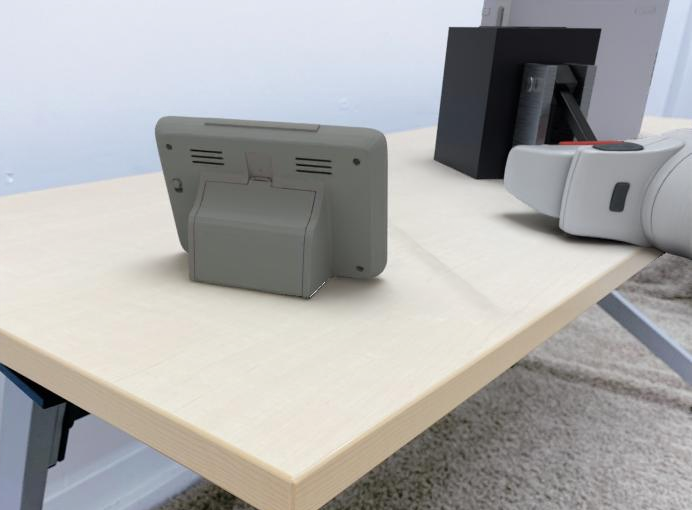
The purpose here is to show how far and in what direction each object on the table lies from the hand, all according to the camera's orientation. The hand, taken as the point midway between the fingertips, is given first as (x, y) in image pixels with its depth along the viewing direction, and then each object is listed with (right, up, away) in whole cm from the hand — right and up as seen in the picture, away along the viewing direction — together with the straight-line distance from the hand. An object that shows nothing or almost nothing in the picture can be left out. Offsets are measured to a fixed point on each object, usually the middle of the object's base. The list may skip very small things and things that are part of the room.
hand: (582, 153), depth 65 cm
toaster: (-2, +1, +16) cm, 16 cm away
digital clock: (-29, -12, -15) cm, 35 cm away
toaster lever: (0, +4, +2) cm, 4 cm away
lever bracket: (-1, -2, +8) cm, 8 cm away
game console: (+11, +8, +32) cm, 35 cm away
